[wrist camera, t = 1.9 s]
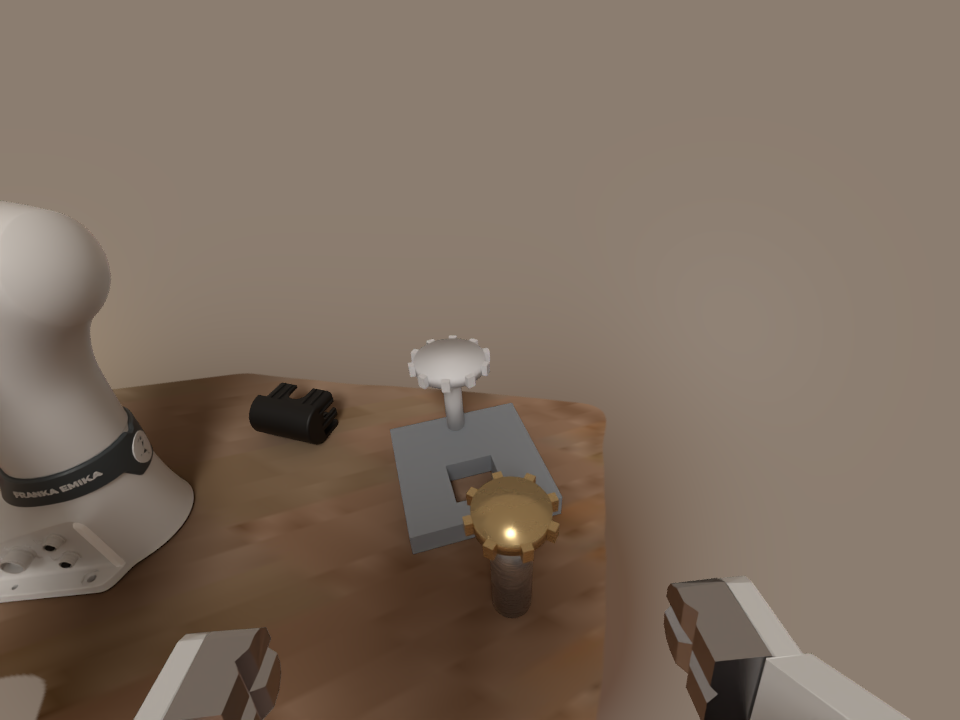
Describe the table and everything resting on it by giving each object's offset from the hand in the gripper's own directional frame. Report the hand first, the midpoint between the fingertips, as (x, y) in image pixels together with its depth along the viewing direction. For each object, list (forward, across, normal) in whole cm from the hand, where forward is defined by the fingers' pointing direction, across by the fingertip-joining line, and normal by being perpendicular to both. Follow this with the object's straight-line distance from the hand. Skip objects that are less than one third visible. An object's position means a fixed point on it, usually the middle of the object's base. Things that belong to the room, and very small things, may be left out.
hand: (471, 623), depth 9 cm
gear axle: (+27, +2, -33) cm, 43 cm away
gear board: (+45, -2, -30) cm, 54 cm away
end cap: (+54, -26, -28) cm, 66 cm away
